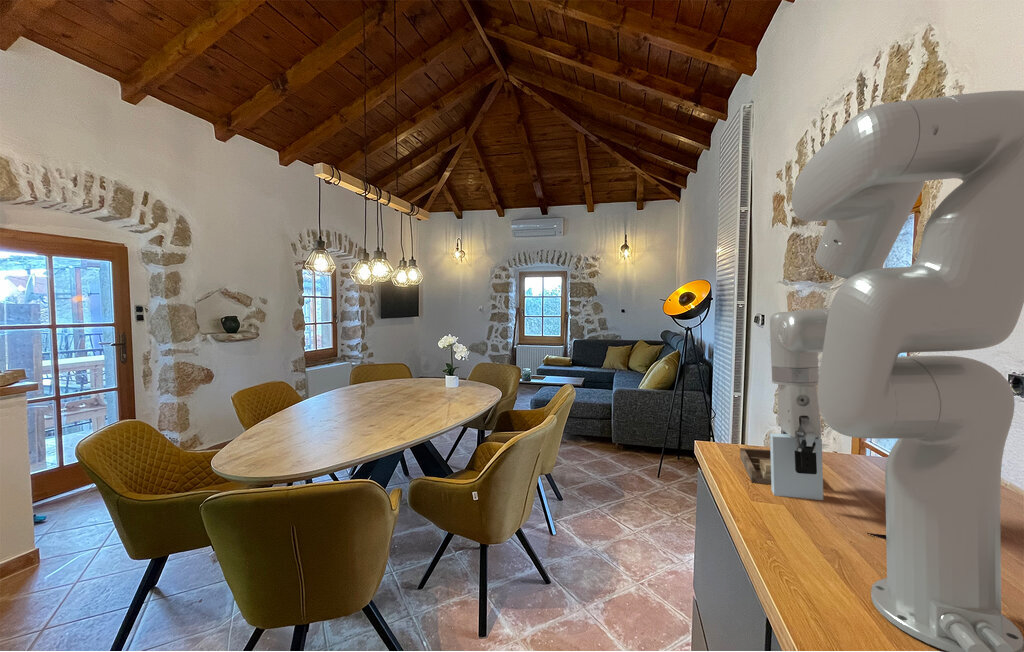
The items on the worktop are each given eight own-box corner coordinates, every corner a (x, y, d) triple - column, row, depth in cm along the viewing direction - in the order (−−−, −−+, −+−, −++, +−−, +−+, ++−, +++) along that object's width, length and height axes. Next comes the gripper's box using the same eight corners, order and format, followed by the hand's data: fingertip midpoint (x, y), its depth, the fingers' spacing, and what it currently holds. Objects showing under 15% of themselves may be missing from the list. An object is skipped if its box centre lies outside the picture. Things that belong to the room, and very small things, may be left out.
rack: (820, 493, 84) (819, 476, 84) (752, 487, 88) (751, 470, 88) (798, 466, 98) (798, 451, 98) (740, 462, 102) (740, 448, 102)
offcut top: (800, 474, 87) (799, 466, 87) (765, 473, 88) (765, 465, 88) (792, 468, 90) (792, 460, 90) (759, 467, 91) (759, 459, 91)
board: (823, 502, 79) (821, 439, 79) (774, 497, 82) (772, 436, 82) (819, 496, 81) (817, 435, 81) (771, 492, 84) (769, 433, 84)
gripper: (834, 382, 71) (838, 482, 71) (804, 370, 87) (807, 452, 87) (783, 382, 74) (787, 478, 74) (762, 370, 90) (766, 449, 90)
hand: (798, 464), depth 81 cm, fingers open, 9 cm apart
